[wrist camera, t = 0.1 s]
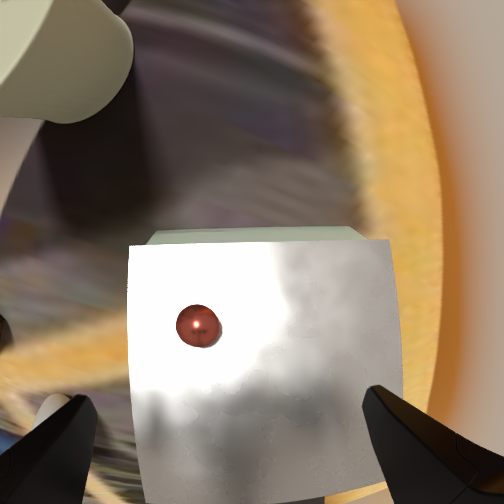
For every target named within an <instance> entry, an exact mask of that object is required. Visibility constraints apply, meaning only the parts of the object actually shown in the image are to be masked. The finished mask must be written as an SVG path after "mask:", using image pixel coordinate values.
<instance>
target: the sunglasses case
mask: <svg viewBox="0 0 504 504" xmlns="http://www.w3.org/2000/svg"><path fill="white" fill-rule="evenodd" d="M2 320H5V319H2V318H1V317H0V337H1V331H2V324H3V321H2Z"/></svg>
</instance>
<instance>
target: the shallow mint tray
mask: <svg viewBox="0 0 504 504" xmlns="http://www.w3.org/2000/svg"><path fill="white" fill-rule="evenodd" d="M334 240H368V239H366V238H365V237H363V236H362V235H360V234H359V233H358V232H356V231H355V230H353V229H352V228H350V227H349V226H318V227H257V228H218V229H187V230H160V231H156V232H155V233H154V235H153V236H152V237H151V239H150V240H149V241H148V242H147V244H146V245H145V246H152V245H182V244H215V243H250V242H289V241H334Z"/></svg>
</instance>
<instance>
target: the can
mask: <svg viewBox="0 0 504 504" xmlns="http://www.w3.org/2000/svg"><path fill="white" fill-rule="evenodd" d="M133 53H134V45H133V39H132V35H131V32H130V30H129V28H128V26H127V25H126V24H125V22H124V21H123V20H122V19H120V18H119V17H118V16H116V15H114V14H113V13H112V11H111V10H110V9H109V8H108V7H107V6H106V5H105V4H104V3H103V2H102V1H101V0H0V117H14V118H32V119H43V120H49V121H52V122H55V123H62V124H66V123H74V122H78V121H81V120H84V119H86V118H88V117H90V116H92V115H94V114H95V113H97V112H98V111H100V110H101V109H102V108H104V107H105V106H106V105H107V104H108V103H109V102H110V101H111V100H112V99H113V98H114V97H115V96H116V94H117V93H118V91H119V90H120V89H121V87H122V86H123V84H124V82H125V80H126V78H127V76H128V74H129V71H130V68H131V65H132V60H133Z"/></svg>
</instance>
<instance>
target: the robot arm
mask: <svg viewBox="0 0 504 504" xmlns="http://www.w3.org/2000/svg"><path fill="white" fill-rule="evenodd" d="M362 410H363V414H364V417H365V421H366V425H367V428H368V432H369V436H370V440H371V444H372V447H373V449H374V452H375V455H376V457H377V460H378V462H379V465H380V467H381V470H382V473H383V475H384V478H385V480H386V483H387V486H388V488H389V491H390V493H391V496H392V499H393V501H394V504H504V457H503V456H501V455H499V454H496V453H494V452H492V451H489V450H487V449H485V448H483V447H481V446H479V445H477V444H475V443H473V442H471V441H469V440H468V439H466V438H464V437H463V436H461V435H459V434H458V433H455V432H454V431H453V430H451V429H449V428H448V427H446V426H444V425H443V424H441V423H440V422H438V421H436V420H434V419H433V418H431V417H430V416H428V415H427V414H425V413H424V412H422V411H420V410H419V409H417V408H416V407H414V406H413V405H411V404H409V403H408V402H406V401H405V400H403V399H402V398H400V397H398V396H397V395H395V394H394V393H392V392H391V391H389V390H388V389H386V388H385V387H383V386H382V385H379V384H378V385H373V386H369V387H368V388H367V390H366V393H365V396H364V399H363V402H362ZM96 424H97V412H96V409H95V407H94V405H93V403H92V400H91V398H90V397H89V396H88V395H82V394H77V395H76V396H74V397H73V398H72V399H70V400H69V401H68V402H67V403H65V404H64V405H63V406H62V407H60V408H59V409H58V410H57V411H55V412H54V413H53V414H52V415H50V416H49V417H48V418H47V419H45V420H44V421H43V422H41V423H40V424H39V425H38V426H36V427H35V428H34V429H33V430H31V431H30V432H29V433H28V434H26V435H25V436H24V437H23V438H21V439H20V440H19V441H18V442H16V443H15V444H14V445H12V446H11V447H10V448H9V449H7V450H6V451H5V452H3V453H2V454H1V455H0V504H82V500H83V495H84V490H85V486H86V481H87V476H88V472H89V468H90V463H91V459H92V454H93V446H94V438H95V431H96Z"/></svg>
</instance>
